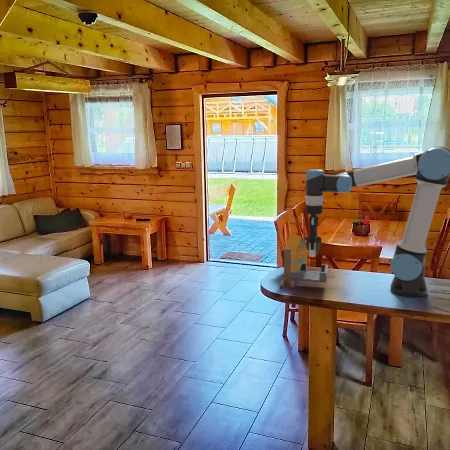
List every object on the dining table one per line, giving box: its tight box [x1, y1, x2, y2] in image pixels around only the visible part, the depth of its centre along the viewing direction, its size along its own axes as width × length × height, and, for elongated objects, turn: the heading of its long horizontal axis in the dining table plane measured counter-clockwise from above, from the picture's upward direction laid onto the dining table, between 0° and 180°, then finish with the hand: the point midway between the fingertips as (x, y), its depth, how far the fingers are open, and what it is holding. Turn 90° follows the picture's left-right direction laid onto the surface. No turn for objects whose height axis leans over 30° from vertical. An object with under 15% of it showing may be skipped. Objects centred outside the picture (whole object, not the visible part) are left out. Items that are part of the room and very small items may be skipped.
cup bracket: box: [279, 247, 329, 290], centre depth 205 cm, size 21×13×18 cm, turn 74°
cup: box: [304, 235, 323, 256], centre depth 202 cm, size 8×7×8 cm
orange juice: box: [284, 233, 308, 271], centre depth 225 cm, size 8×9×20 cm
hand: (312, 254), depth 203 cm, fingers closed on cup, 7 cm apart
